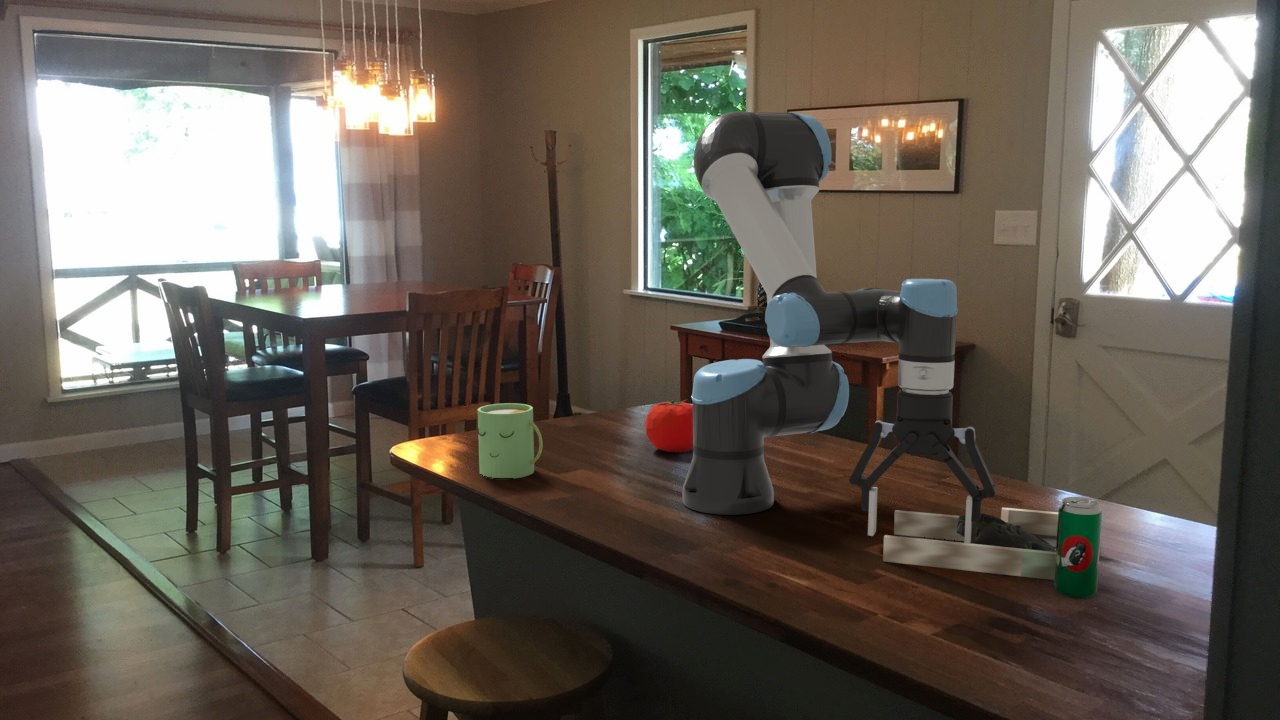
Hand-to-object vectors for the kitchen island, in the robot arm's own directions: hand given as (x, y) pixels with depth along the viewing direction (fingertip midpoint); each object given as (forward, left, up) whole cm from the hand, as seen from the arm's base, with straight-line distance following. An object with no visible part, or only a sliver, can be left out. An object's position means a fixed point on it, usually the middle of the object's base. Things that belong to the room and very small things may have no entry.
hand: (919, 538), depth 149 cm
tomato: (-52, +47, -2) cm, 70 cm away
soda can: (+20, -10, -2) cm, 23 cm away
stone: (+12, +3, -2) cm, 12 cm away
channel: (+9, +4, -2) cm, 10 cm away
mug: (-75, +21, -2) cm, 78 cm away
